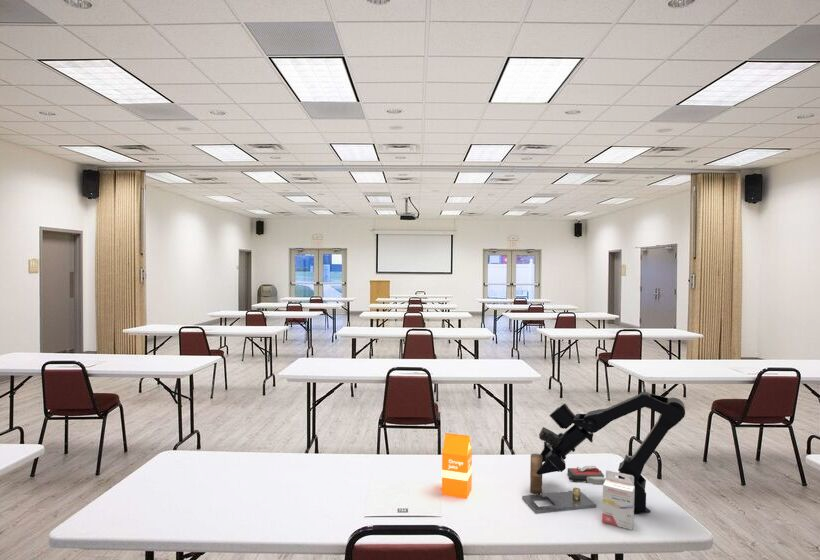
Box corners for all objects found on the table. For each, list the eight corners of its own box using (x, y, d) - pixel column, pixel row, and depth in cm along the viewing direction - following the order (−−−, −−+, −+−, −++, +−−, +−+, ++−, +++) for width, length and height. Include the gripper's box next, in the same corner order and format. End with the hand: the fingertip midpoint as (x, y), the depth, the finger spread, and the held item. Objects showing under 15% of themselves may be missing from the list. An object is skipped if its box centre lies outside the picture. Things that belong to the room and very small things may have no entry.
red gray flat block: (571, 485, 173) (627, 485, 173) (571, 473, 173) (627, 473, 173) (563, 474, 182) (617, 475, 182) (563, 463, 182) (617, 463, 182)
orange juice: (467, 498, 162) (467, 439, 161) (441, 494, 164) (441, 436, 164) (471, 488, 169) (472, 432, 169) (447, 485, 172) (447, 429, 171)
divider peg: (544, 493, 166) (544, 457, 165) (533, 494, 165) (533, 458, 165) (538, 488, 170) (539, 453, 169) (528, 489, 169) (528, 453, 168)
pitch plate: (596, 507, 156) (596, 495, 156) (535, 513, 152) (535, 500, 152) (579, 493, 166) (579, 481, 166) (522, 498, 162) (522, 486, 162)
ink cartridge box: (601, 522, 147) (602, 474, 146) (604, 515, 151) (604, 469, 151) (632, 530, 142) (633, 481, 142) (634, 523, 147) (635, 475, 146)
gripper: (551, 413, 175) (519, 441, 177) (555, 430, 156) (520, 460, 159) (574, 437, 173) (541, 464, 176) (580, 456, 155) (544, 487, 158)
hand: (536, 468), depth 167 cm, fingers open, 9 cm apart
